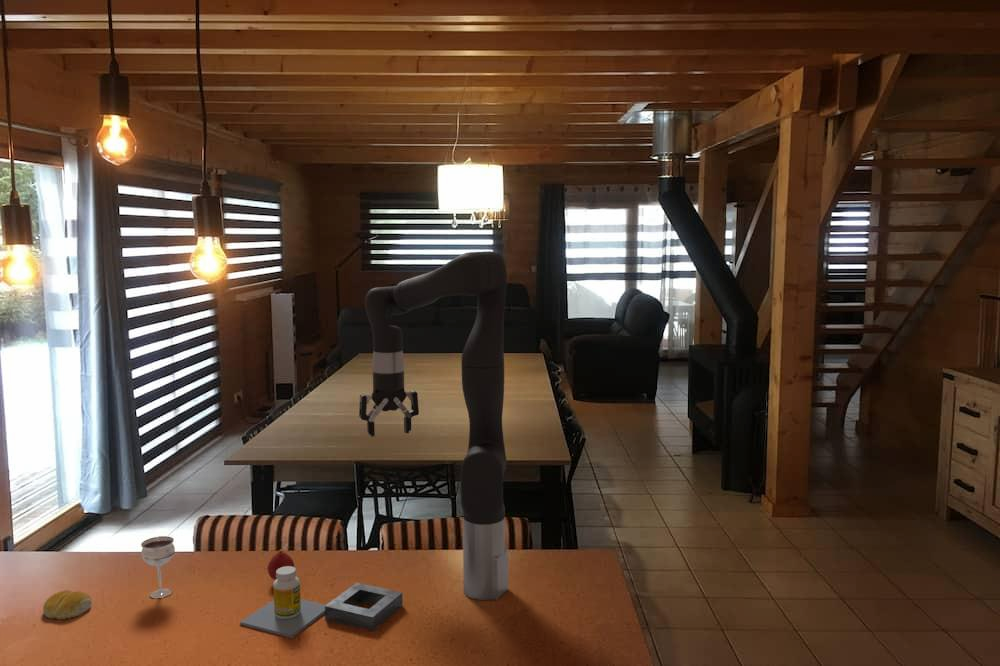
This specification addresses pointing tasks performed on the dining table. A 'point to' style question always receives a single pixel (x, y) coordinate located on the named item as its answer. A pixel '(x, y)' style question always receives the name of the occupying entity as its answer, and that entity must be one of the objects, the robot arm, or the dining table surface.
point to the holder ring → (369, 619)
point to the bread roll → (66, 604)
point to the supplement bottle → (286, 593)
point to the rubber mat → (284, 627)
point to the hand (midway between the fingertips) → (389, 434)
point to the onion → (279, 563)
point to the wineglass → (158, 558)
